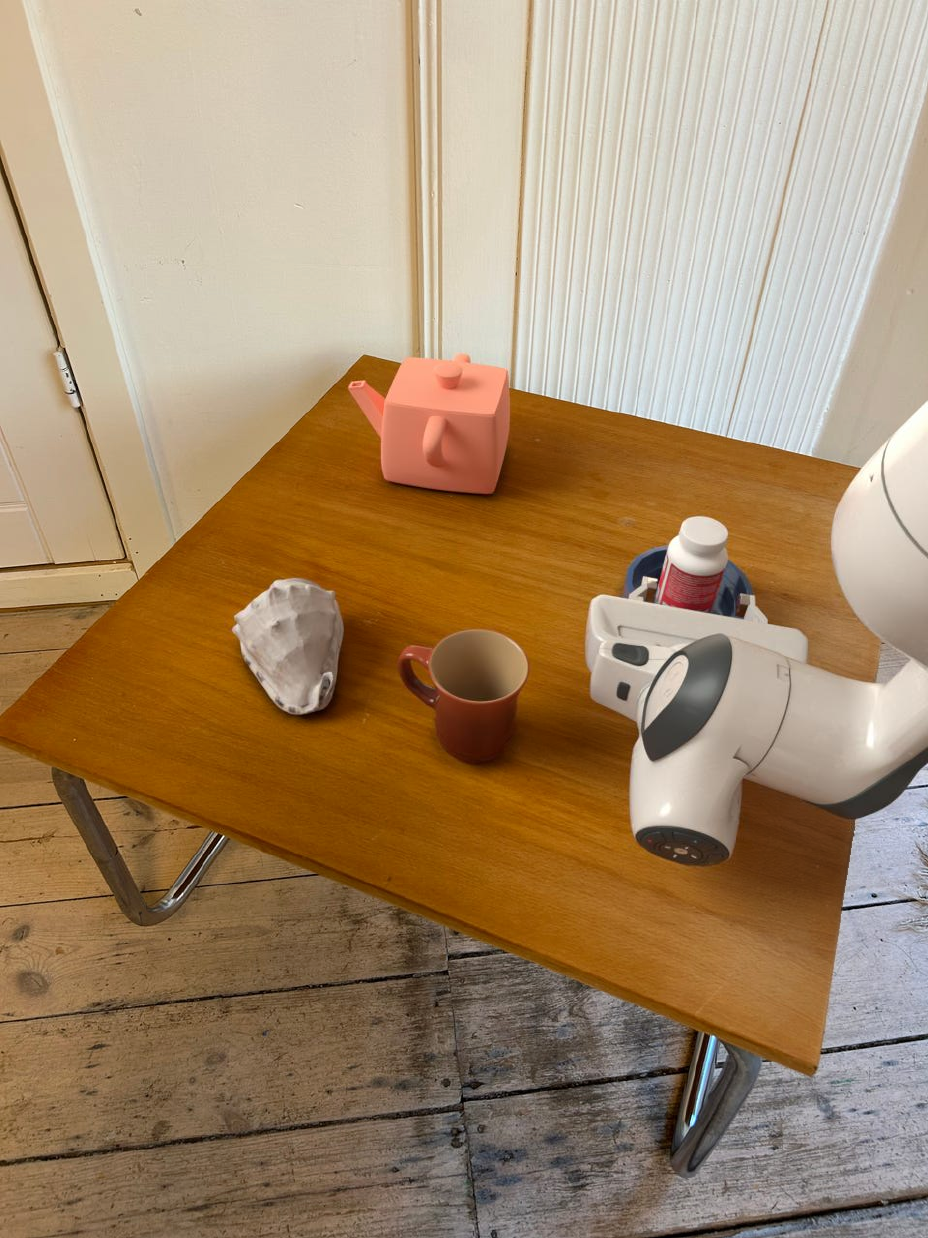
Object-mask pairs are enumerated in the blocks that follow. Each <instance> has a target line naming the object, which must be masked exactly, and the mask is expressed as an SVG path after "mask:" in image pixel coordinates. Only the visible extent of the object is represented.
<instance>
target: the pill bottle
mask: <svg viewBox="0 0 928 1238" xmlns="http://www.w3.org/2000/svg"><path fill="white" fill-rule="evenodd" d="M728 537H729V532H728V529H727V527H726V526H725V525H724V524H723V523H722V522H720V521H718V520H716V519H714V518H712V517H708V516H702V515H700V516H699V515H697V516H691V517H687V518H686V519H685V520H684V521H683V522H682V523H681V526H680V529H679V531H678V535H676V536H675V537H673V538H672V539H671V540H670V542H669V544H668V545H669V546H668V549H667V553H666V557H665V561H664V565H663V569H662V573H661V577H660V581H659V585H658V588H657V592H656V596H655V604H660V605H665V606H671V607H676V608H682V609H688V610H693V611H699V612H704V613H710V614H711V612H712V609H713V606H714V602H715V599H716V596H717V593H718V590H719V587H720V584H721V581H722V578H723V575H724V571H725V569H726V565H727V562H728V560H729V553H728V550H727V548H726V546H727V542H728Z"/></svg>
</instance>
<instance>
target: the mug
mask: <svg viewBox="0 0 928 1238" xmlns="http://www.w3.org/2000/svg"><path fill="white" fill-rule="evenodd" d="M411 661H414V662H417V663H419V664H421V666H423V668H425V669H426V671H428V674H429V677H430V679H431V682H432V684H433V685H434V687H433V686H430V685H428V684H426V683H425V682H423V681H422V680H420V678H419V677H418V676H417V675H416V673H415V671H414V670H413V666H412V662H411ZM529 661H530V660H529V658H528V655H527V654H526V652H525V650H524V649H523V647H522V646H521V645H520V644H519V643H518V642H516V641H515V640H514V639H513V638H511V637H510V636H507V635H505V634H503V633H501V632H498V631H495V630H491V629H484V628H469V629H463V630H459V631H456V632H454V633H451V634H448V635H447V636H445V637H443V638H442V639H440V641H438V642H437V644H436V645H435V646H434V647H426V646H422V645H417V644H411V645H407V646H405V647H404V648H403V649H402V650H401V652H400V653H399V656H398V658H397V669H398V674H399V678H400V679H401V681H402V683H403V685H404V686H405V687H406V689H407V690H408V691H409V692H410V693H411V694H413V695H414V696H415V697H416V698H418V699H419V700H420V701H421V702H422V703H423V704H425V705H426V706H428V707H430V708H431V709H433V710H434V726H435V731H436V734H437V737H438V740H439V743H440V745H441V746H442V748H443V749H444V750H445V752H447V753H448V754H449V755H450V756H452V757H453V758H454V759H457V760H458V761H461V762H464V763H470V764H480V763H486V762H491V761H493V760H495V759H497V758H498V757H500V756H501V755H502V754H504V753H505V751H506V750H507V749H508V747H509V745H510V743H511V741H512V740H513V738H514V734H515V731H516V728H517V727H516V726H517V713H518V696H519V695H520V693H521V691H522V690H523V688H524V687H525V685H526V683H527V681H528V679H529V675H530V662H529Z"/></svg>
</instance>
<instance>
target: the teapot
mask: <svg viewBox="0 0 928 1238" xmlns="http://www.w3.org/2000/svg"><path fill="white" fill-rule="evenodd" d="M509 379H510V378H509V370H508V369H507V368H504V367H499V366H494V365H489V364H482V363H475V362H471V357H470V355H468V354H467V353H464V352H459V353H456V354H455V355H454V356H453V357H452V360H448V359H439V358H427V357H411V356H410V357H409V356H408V357H405V358H404V359H403V361H402V362H401V364H400V365H399V368H398V370H397V372H396V374H395V376H394V379H393V381H392V383H391V385H390V387H389V390H388V392H387V394H386V396H385V397H384V396H383V395H382V394H381V393H379V391H376V390H375V389H374V388H373V387H372V386H370V385H369V384H368V383H367V380H357V381H355V380H354V381H351V382H350V383H349V384H348V387H347V389H348V391H349V393H350V395H351V396H352V397H353V399H354V401H355V402H356V404H357V405H358V407H359V408H360V410H361V411H362V412H363V414H364V415H365V417H366V419H367V420H368V422H369V423H370V424H371V426H372V427H373V429H374V430H375V432H376V434H377V435H378V437H379V439H380V465H381V470H382V475H383V478H384V480H385V481H388V482H391V483H396V484H402V485H407V486H412V487H419V488H425V489H429V490H431V489H432V490H437V491H448V492H457V493H467V494H468V493H469V494H480V495H481V494H482V495H490V494H493V493H494V492H495V489H496V487H497V483H498V480H499V476H500V473H501V470H502V467H503V462H504V459H505V454H506V451H507V445H508V440H509V436H510V435H509V434H510V427H511V397H510V396H511V395H510V394H511V393H510V380H509Z"/></svg>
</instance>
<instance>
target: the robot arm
mask: <svg viewBox="0 0 928 1238" xmlns="http://www.w3.org/2000/svg"><path fill="white" fill-rule="evenodd" d="M830 551H831V552H830V554H831V561H832V566H833V570H834V573H835V576H836V579H837V582H838V585H839V587H840V590H841V591H842V594H843V596H844V597H845V598H844V599H846V601H847V603H848V605H849V606H850V608H851V610H852V611H853V613H854V614H855V615H856V617H857V618H858V620H859V621H860V622H861V623H862V624H863V625H864V627H866V629H867V630H868V631H869V632H870V633H871V634H873V635H874V636H875V637H876V638H877V639H878V640H879V641H881V642H882V643H883V644H885V645H886V646H888V647H889V648H891V649H893V650H895V651H896V652H897V653H898V654H901V655H902V656H905V657H906V658H907V659H908V660H907V662H906V663H905V664H904V665H903V666H902V667H901V668H900V669H899V670H898V671H897V672H896V673H895V674H894V675H893V676H892V677H891V678H890V680H888V682H871V681H870V682H869V681H863V680H858V679H853V678H849V677H846V676H842V675H839V674H836V673H834V672H831V671H829V670H826V669H822V668H820V667H818V666H814V665H812V664H809V663H808V659H809V651H810V650H809V647H810V646H809V645H810V643H809V638H808V637H807V636H806V635H805V633H803V632H802V631H801V630H800V629H798V628H794V627H788V626H782V625H777V624H771V623H769V619H768V617H767V616H766V615H765V614H764V613H763V612H762V611H761V610H760V608H759V607H758V606H756V595H755V594H753V595H747V594H741V593H740V594H739V596H738V599H737V602H736V616H737V617H742V618H744V619H745V620H744V619H738V618H733V617H727V616H721V615H716V614H710V613H704V612H699V611H693V610H688V609H682V608H676V607H671V606H665V605H660V604H654V603H648V602H644V601H645V600H646V601H654V597H655V593H656V589H657V581H658V579H656V578H651V577H645V576H643V578H642V582H641V586H640V587H639V588H637V589H636V590H635V591H633V592H632V593H631V594H629V599H626V598H622V597H620V596H614V595H610V594H599V595H597V596H594V597H593V598H592V599H591V600H590V603H589V607H588V613H587V619H586V626H585V635H584V657H585V663H586V666H587V668H588V670H589V671H590V673H591V674H590V680H589V681H590V682H589V696H590V698H591V700H592V701H594V702H595V703H597V704H599V705H601V706H604V707H605V708H608V709H610V710H612V711H614V712H616V713H618V714H620V715H622V716H624V717H626V718H628V719H629V720H631V721H632V722H635V723H636V726H637V730H638V738H637V739H636V742H635V744H634V746H633V749H632V754H631V764H630V773H629V819H630V827H631V833H632V835H633V838H634V840H635V841H636V843H637V844H638V845H639V846H640V847H641V848H642V849H644V850H645V851H646V852H648V853H649V854H652V855H654V856H656V857H658V858H661V859H664V860H666V861H670V862H673V863H675V864H679V865H683V866H686V867H689V866H690V867H691V866H693V867H701V868H704V867H711V866H715V865H721V864H723V863H725V862H727V861H728V860H730V858H731V857H732V854H733V852H734V849H735V846H736V845H735V844H736V841H737V836H738V830H739V823H740V817H741V809H742V797H743V779H744V780H747V781H749V782H752V783H756V784H758V785H761V786H764V787H767V788H770V789H772V790H775V791H778V792H781V793H782V794H783V793H784V794H787V795H790V796H791V797H795V798H798V799H800V800H802V801H803V802H805V803H807V804H809V805H811V806H813V807H816V808H818V809H821V810H823V811H825V812H827V813H829V814H831V815H834V816H836V817H838V818H840V819H844V820H858V819H863V818H865V817H868V816H870V815H873V814H875V813H878V812H880V811H882V810H883V809H885V808H887V807H888V806H890V805H891V804H892V803H894V802H895V801H896V800H897V799H898V798H900V796H902V794H903V793H904V792H905V791H906V789H907V788H908V787H909V786H910V785H911V782H912V781H913V780H914V779H915V777H916V776H917V774H918V773H919V772H920V771H921V770H922V769H924V767H925V766H926V765H928V400H926V401H925V402H924V403H923V404H922V405H921V406H920V407H919V408H918V409H917V410H916V411H915V412H914V413H913V414H911V415H910V417H909V418H908V419H907V420H906V421H905V422H904V423H903V424H902V425H901V426H900V427H899V428H898V429H897V430H896V431H895V432H893V434H892V435H891V436H890V437H889V438H888V439H887V440H886V441H885V442H884V443H883V444H882V445H881V446H880V447H879V448H878V449H877V451H875V452H874V453H873V455H871V457H870V458H869V459H868V460H867V462H865V464H864V465H863V466H862V467H861V469H860V470H859V471H858V472H857V474H856V475H855V477H854V478H853V479H852V480H851V482H850V484H849V485H848V487H847V488H846V490H845V491H844V493H843V495H842V497H841V499H840V501H839V502H838V504H837V507H836V509H835V512H834V515H833V519H832V526H831V532H830Z"/></svg>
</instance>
